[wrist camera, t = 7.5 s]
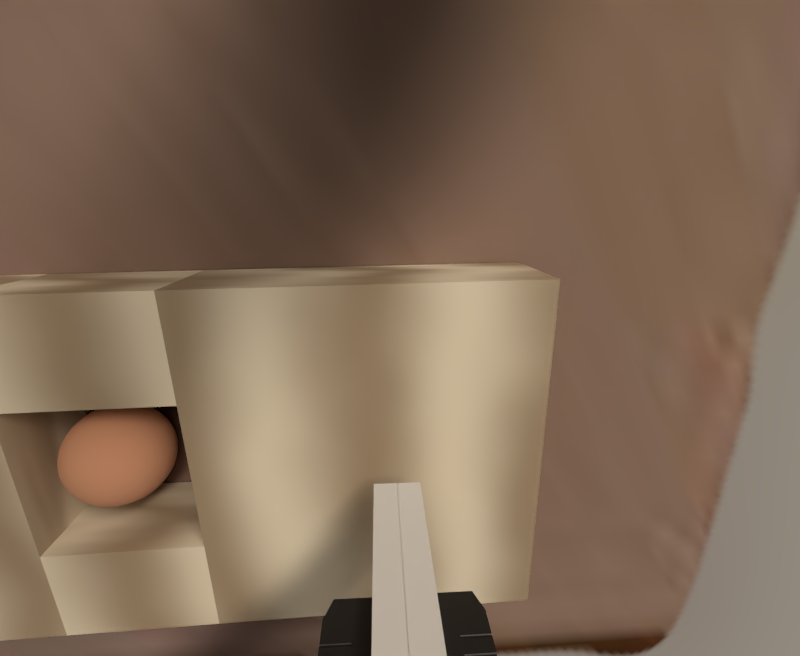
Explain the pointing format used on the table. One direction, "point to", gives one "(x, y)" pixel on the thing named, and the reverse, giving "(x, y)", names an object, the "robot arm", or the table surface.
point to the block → (270, 436)
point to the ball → (117, 455)
